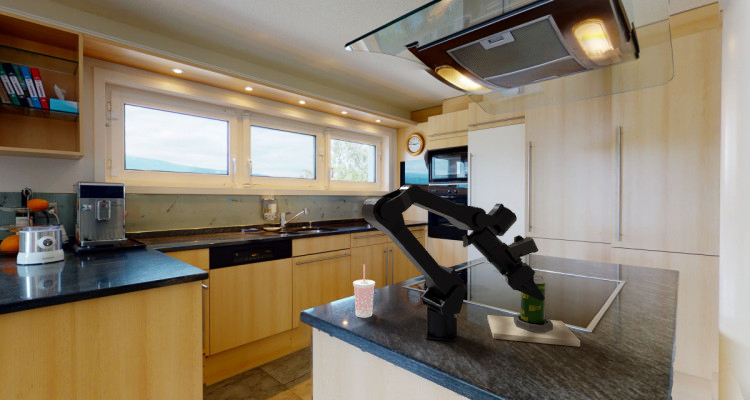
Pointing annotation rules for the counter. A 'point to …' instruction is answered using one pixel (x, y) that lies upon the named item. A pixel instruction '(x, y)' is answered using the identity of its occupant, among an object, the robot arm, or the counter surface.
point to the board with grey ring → (531, 331)
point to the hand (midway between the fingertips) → (539, 294)
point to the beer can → (533, 305)
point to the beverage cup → (364, 296)
